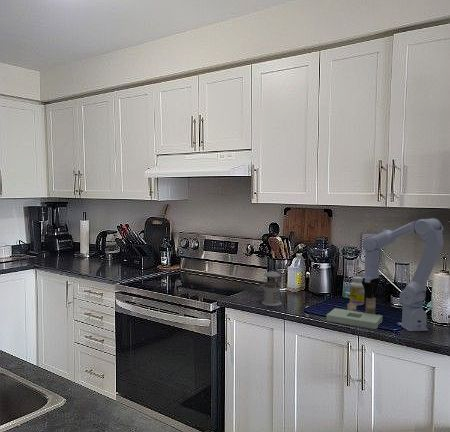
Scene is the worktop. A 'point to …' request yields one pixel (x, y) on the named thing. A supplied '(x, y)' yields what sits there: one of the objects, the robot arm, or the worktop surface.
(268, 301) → the french press
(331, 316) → the hole board
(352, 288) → the supplement bottle
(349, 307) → the short stub
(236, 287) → the worktop surface
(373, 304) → the tall dowel
